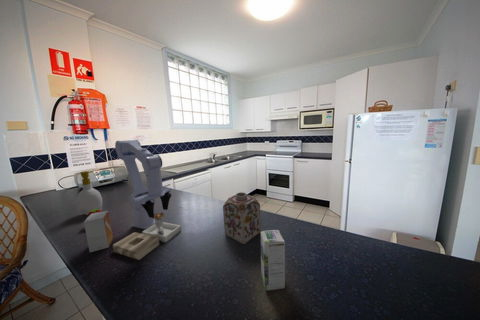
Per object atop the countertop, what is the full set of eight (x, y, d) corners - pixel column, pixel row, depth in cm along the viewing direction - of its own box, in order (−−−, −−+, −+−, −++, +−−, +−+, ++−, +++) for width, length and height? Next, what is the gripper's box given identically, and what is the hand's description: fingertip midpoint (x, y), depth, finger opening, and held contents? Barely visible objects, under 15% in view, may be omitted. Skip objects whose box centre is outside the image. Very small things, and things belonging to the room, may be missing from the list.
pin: (153, 235, 75) (150, 216, 74) (160, 230, 79) (158, 212, 78) (160, 237, 73) (157, 217, 72) (168, 231, 77) (165, 213, 76)
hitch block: (114, 251, 66) (112, 244, 66) (135, 238, 75) (134, 232, 74) (139, 260, 61) (137, 252, 61) (159, 244, 69) (158, 237, 69)
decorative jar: (261, 232, 74) (260, 192, 71) (244, 245, 66) (241, 201, 63) (241, 223, 82) (239, 187, 80) (223, 234, 74) (220, 195, 71)
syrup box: (260, 274, 52) (259, 230, 50) (279, 272, 52) (278, 228, 50) (265, 291, 46) (263, 243, 44) (286, 288, 47) (285, 240, 45)
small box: (109, 247, 69) (103, 217, 67) (89, 253, 67) (82, 222, 65) (113, 237, 76) (108, 210, 74) (95, 241, 74) (90, 213, 72)
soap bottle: (110, 210, 106) (102, 169, 102) (95, 217, 98) (86, 173, 94) (91, 209, 109) (83, 170, 105) (75, 216, 100) (66, 173, 96)
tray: (142, 237, 75) (142, 231, 75) (159, 226, 84) (159, 221, 84) (165, 242, 70) (165, 237, 70) (181, 230, 79) (180, 225, 79)
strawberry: (96, 228, 85) (93, 209, 84) (86, 227, 87) (82, 208, 86) (108, 222, 91) (105, 204, 89) (98, 221, 93) (94, 203, 91)
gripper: (146, 189, 65) (151, 222, 67) (174, 179, 78) (177, 207, 80) (134, 188, 68) (139, 220, 70) (162, 178, 81) (166, 205, 83)
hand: (158, 213), depth 75 cm, fingers open, 7 cm apart
